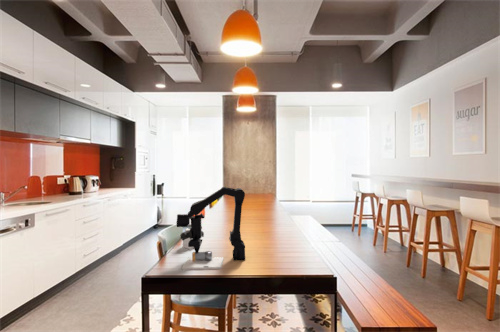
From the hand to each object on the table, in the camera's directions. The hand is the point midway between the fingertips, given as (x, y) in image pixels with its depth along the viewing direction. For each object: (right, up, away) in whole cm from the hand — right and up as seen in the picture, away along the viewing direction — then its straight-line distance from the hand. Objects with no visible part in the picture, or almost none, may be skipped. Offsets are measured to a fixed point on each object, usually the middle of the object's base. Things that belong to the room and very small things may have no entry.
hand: (196, 253), depth 157 cm
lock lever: (+3, -3, -1) cm, 5 cm away
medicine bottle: (-9, -3, +25) cm, 26 cm away
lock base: (+5, -4, -4) cm, 8 cm away
